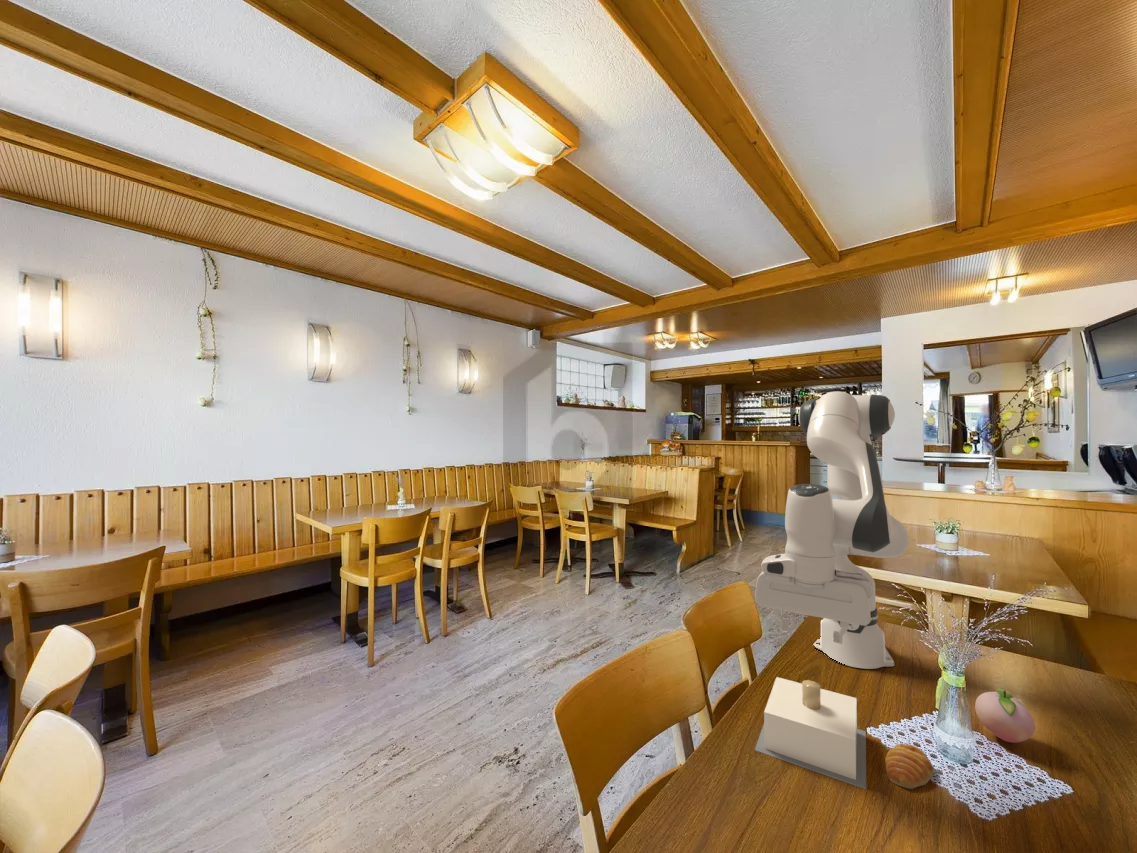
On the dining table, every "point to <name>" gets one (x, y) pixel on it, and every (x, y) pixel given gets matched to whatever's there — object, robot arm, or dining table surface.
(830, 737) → the cover
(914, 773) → the pastry
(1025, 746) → the dining table surface
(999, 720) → the decorative fruit
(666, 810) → the dining table surface
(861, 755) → the mat
